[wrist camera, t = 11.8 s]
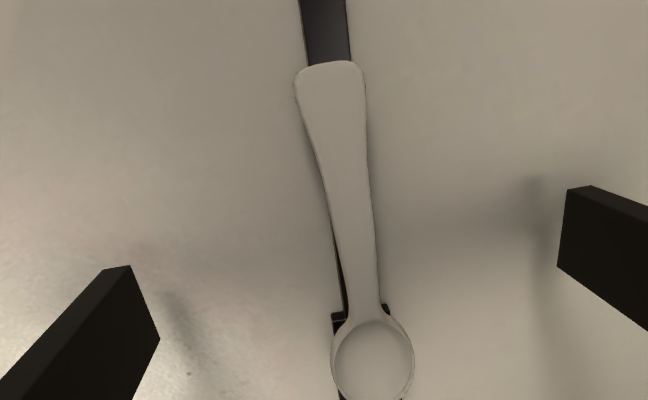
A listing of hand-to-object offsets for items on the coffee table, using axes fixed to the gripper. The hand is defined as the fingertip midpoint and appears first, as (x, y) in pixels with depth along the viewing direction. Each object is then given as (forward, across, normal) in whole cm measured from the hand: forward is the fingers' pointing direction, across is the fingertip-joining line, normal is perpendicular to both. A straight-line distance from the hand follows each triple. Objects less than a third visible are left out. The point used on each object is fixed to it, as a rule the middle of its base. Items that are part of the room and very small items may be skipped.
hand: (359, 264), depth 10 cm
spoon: (+1, 0, 0) cm, 1 cm away
